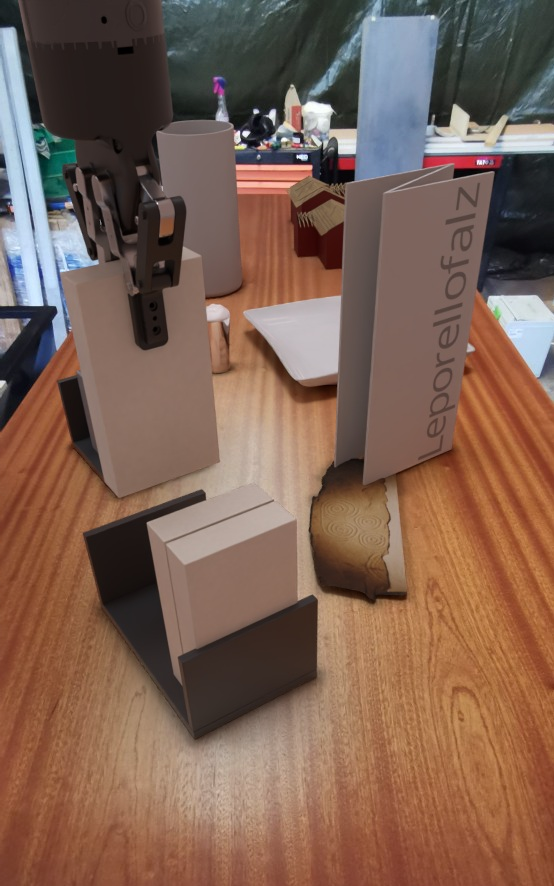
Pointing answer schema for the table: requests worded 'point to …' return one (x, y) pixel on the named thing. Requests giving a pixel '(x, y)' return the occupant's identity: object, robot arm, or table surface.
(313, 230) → the toy houses
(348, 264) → the brochure
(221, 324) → the milkshake
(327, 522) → the parchment
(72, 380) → the grey rack
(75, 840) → the table surface
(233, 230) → the cylinder vase
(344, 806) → the table surface
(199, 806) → the table surface
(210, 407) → the white book
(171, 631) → the book holder
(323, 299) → the square plate
